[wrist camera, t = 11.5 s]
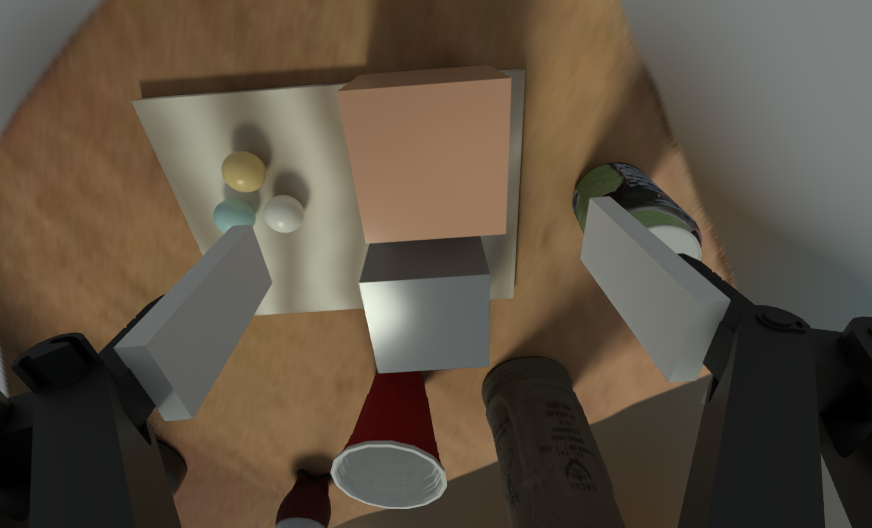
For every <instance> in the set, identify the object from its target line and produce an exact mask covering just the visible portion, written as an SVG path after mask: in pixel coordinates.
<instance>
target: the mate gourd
mask: <svg viewBox="0 0 872 528" xmlns="http://www.w3.org/2000/svg"><path fill="white" fill-rule="evenodd" d="M297 474H298V475H299V477H298V479H297V481H296V483H295V485H294V487H293V489H292V490H291V491H290V492H289V493H288V494H287V496H286V497H285V498H284V500H283V502H282V503H281V505H280V507H279V510H278V513H277V518H276V522H275V528H327V527H328V524H329V521H330V515H331V505H330V499H329V496H328V493H329V486H328V480H329V479H331V474H329V473H328V474H324V475H321V476H318V477H312V476H311V475H309V474H308V473H307V472H306V471H304V470H303V469H301V470H299V471H298V473H297Z"/></svg>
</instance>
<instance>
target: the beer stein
mask: <svg viewBox="0 0 872 528" xmlns="http://www.w3.org/2000/svg"><path fill="white" fill-rule="evenodd" d="M482 398H483V401H484V404H485V406H486V408H487V409H486V416H487V420H488V423H489V425H490V427H491V430H492V433H493V438H494V442H495V447H496V452H497V457H498V462H499V467H500V472H501V477H502V483H503V489H504V494H505V500H506V506H507V512H508V518H509V524H510V528H626V527H625V524H624V522H623V519H622V516H621V514H620V511H619V509H618V506H617V504H616V501H615V498H614V492H613V486H612V483H611V480H610V477H609V474H608V471H607V468H606V466H605V463H604V461H603V459H602V457H601V454H600V452H599V449H598V447H597V444H596V441H595V439H594V436H593V434H592V431H591V429H590V427H589V424H588V421H587V418H586V416H585V414H584V411H583V408H582V406H581V404H580V402H579V401H578V399H577V396H576V394H575V392H574V391H573V388H572V381H571V378H570V376H569V374H568V372H567V370H566V369H565V368H564V367H563V366H562V365H560V364H558V363H557V362H555V361H553V360H550V359H546V358H542V357H527V358H520V359H515V360H511V361H509V362H506V363H503V364H502V365H500V366H498V367H497V368H496V369H494V370H493V371H492V372H491V373H490V374H489V375H488V376H487V378H486V379H485V381H484V383H483V386H482Z"/></svg>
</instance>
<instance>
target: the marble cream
mask: <svg viewBox="0 0 872 528" xmlns="http://www.w3.org/2000/svg"><path fill="white" fill-rule="evenodd" d="M264 218H265V221H266V222H267V224H268V225H269V226H270V227H271V228H272V229H273V230H275V231H278V232H281V233H289V232H292V231H295V230H296V229H298V228H299V227H300V226H301V224H302V223H303V220H304V209H303V207H302V205H301V204H300V202H299V201H298V200H297V199H295V198H294V197H291V196H288V195H278V196H275V197H273V198H271V199H270V200H269V201H268V202H267V204H266V205H265V208H264Z"/></svg>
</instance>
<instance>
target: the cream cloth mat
mask: <svg viewBox="0 0 872 528" xmlns="http://www.w3.org/2000/svg"><path fill="white" fill-rule="evenodd" d="M500 71H501V72H502V73H504V74H506V75H507V76H509V77H511V78H512V79H511V106H510V134H509V161H508V189H507V217H506V234H499V235H484V236H480V237H481V241H482V245H483V249H484V253H485V256H486V260H487V264H488V268H489V272H490V300H497V299H512V298H513V295H514V277H515V258H516V239H517V221H518V202H519V184H520V165H521V146H522V128H523V109H524V91H525V72H526V70H523V69H513V70H500ZM348 83H349V82H345V83H332V84H319V85H306V86H293V87H280V88H267V89H254V90H241V91H228V92H215V93H202V94H189V95H176V96H163V97H150V98H140V99H136V100H132V101H131V102H132V104H133V106H134V108H135V110H136V113H137V115H138V117H139V119H140V121H141V123H142V126H143V128H144V130H145V132H146V134H147V136H148V138H149V141H150V143H151V145H152V147H153V149H154V151H155V154H156V156H157V158H158V160H159V162H160V164H161V166H162V169H163V171H164V173H165V175H166V177H167V179H168V182H169V184H170V186H171V188H172V190H173V192H174V194H175V197H176V199H177V201H178V203H179V205H180V207H181V209H182V212H183V214H184V216H185V218H186V220H187V222H188V225H189V227H190V229H191V231H192V233H193V235H194V237H195V240H196V242H197V244H198V246H199V248H200V250H201V253H202V255H204V254H205V253H206V252H207V251H208V250H209V249H210V248H211V247H212V246H213V245H214V244H215V243H216V242H217V241H218V240H219V239H220V238H221V237H222V236H223V235H224V233H223V232H221V231H220V230H219V229H218V228H217V227H216V225H215V223H214V220H213V213H214V210H215V208H216V206H217V205H218V204H219V203H220V202H222V201H224V200H226V199H232V198H235V199H240V200H243V201H245V202H247V203H248V204H249V205H250V206H251V207H252V208H253V210H254V212H255V216H256V221H255V225H254V227H253V229H254V232H255V235H256V238H257V241H258V243H259V246H260V249H261V252H262V255H263V257H264V260H265V263H266V266H267V268H268V271H269V274H270V277H271V280H272V282H273V283H272V285H271V287H270V288H269V290H268V292H267V293H266V295H265V297H264V299H263V300H262V302H261V304H260V305H259V307H258V309H257V310H256V312H255V314H254V315H269V314H284V313H299V312H314V311H329V310H345V309H360V308H364V304H363V300H362V295H361V290H360V286H359V281H360V277H361V273H362V270H363V266H364V262H365V258H366V255H367V251H368V247H369V243H368V244H366V242H365V237H364V232H363V227H362V221H361V216H360V211H359V206H358V200H357V195H356V190H355V185H354V179H353V174H352V169H351V164H350V159H349V153H348V148H347V143H346V138H345V132H344V127H343V122H342V117H341V111H340V106H339V101H338V96H337V91H338V90H339V89H341V88H342V87H343V86H345V85H346V84H348ZM236 151H247V152H250V153H253V154H254V155H256V156H257V157H259V158H260V159H261V161H262V162H263V164H264V165H265V168H266V179H265V182H264V184H263V185H262V186H261V187H260V188H259V189H257V190H255V191H252V192H241V191H237V190H235V189H233V188H232V187H230V186H229V185H228V184H227V183H226V182H225V180H224V178H223V176H222V172H221V167H222V163H223V161H224V159H225V158H226V157H227V156H228V155H229V154H231V153H233V152H236ZM278 195H288V196H291V197H294V198H295V199H297V200H298V201H299V202H300V204H301V205H302V207H303V209H304V220H303V223H302V224H301V226H300V227H299V228H298V229H296V230H295V231H292V232H289V233H281V232H278V231H275V230H273V229H272V228H271V227H270V226H269V225H268V224H267V222H266V221H265V218H264V208H265V205H266V204H267V202H268V201H269V200H270V199H271V198H273V197H275V196H278Z"/></svg>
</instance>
